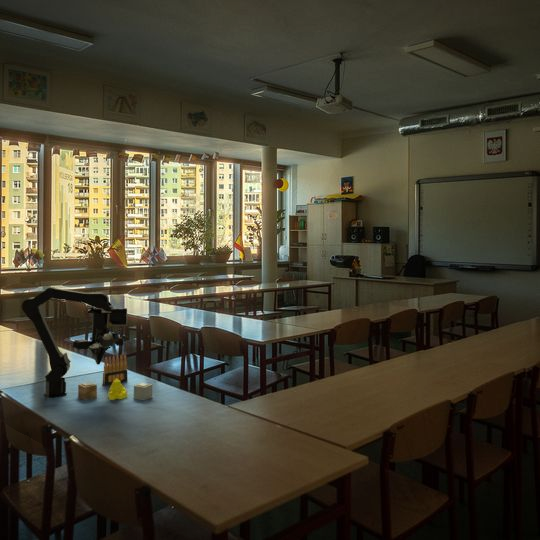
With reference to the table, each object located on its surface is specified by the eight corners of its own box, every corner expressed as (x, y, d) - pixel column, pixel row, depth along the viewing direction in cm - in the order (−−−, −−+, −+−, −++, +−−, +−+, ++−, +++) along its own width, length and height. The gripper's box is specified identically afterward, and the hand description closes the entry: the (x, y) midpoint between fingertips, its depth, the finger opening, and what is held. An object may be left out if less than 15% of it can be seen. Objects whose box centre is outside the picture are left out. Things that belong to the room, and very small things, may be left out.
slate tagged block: (144, 400, 200) (144, 386, 200) (133, 398, 202) (133, 385, 202) (152, 397, 205) (152, 383, 205) (141, 395, 207) (141, 382, 207)
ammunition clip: (104, 385, 218) (105, 357, 218) (102, 384, 220) (102, 356, 219) (127, 381, 226) (128, 354, 225) (125, 380, 227) (125, 353, 227)
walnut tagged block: (84, 400, 198) (84, 386, 198) (78, 397, 202) (78, 383, 201) (96, 397, 202) (97, 384, 202) (90, 394, 205) (90, 381, 205)
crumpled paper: (130, 395, 206) (130, 376, 206) (117, 401, 199) (118, 380, 198) (117, 393, 208) (117, 374, 208) (104, 399, 201) (105, 378, 200)
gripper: (87, 329, 193) (85, 371, 194) (132, 326, 207) (130, 365, 207) (73, 325, 201) (71, 365, 202) (117, 322, 214) (115, 360, 215)
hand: (98, 364), depth 206 cm, fingers closed
